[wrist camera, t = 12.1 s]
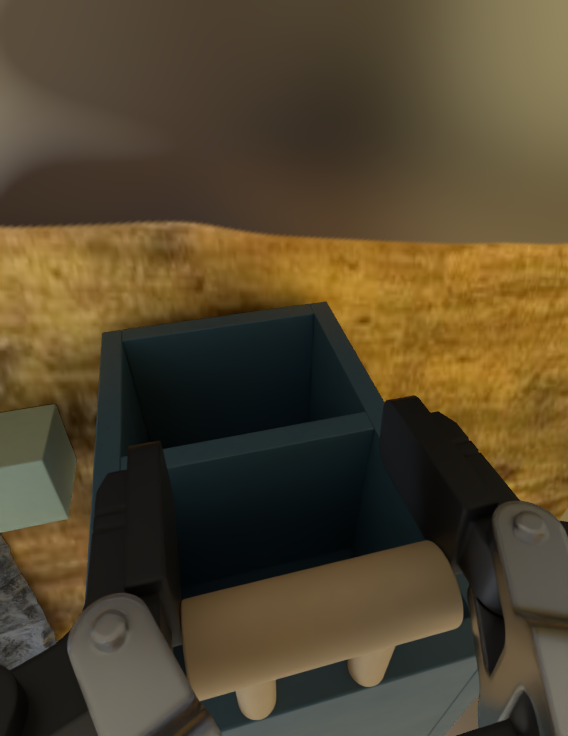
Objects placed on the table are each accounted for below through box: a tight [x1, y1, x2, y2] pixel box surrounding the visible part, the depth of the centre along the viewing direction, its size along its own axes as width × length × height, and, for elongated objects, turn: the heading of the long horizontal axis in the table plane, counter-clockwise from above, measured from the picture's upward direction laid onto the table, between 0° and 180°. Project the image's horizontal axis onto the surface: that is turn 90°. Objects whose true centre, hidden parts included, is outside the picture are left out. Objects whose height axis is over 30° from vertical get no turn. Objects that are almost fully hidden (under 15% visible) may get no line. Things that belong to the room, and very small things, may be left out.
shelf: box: [85, 302, 479, 736], centre depth 20 cm, size 18×12×15 cm
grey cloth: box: [0, 535, 57, 670], centre depth 36 cm, size 21×7×2 cm, turn 178°
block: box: [0, 404, 77, 533], centre depth 27 cm, size 5×5×5 cm
